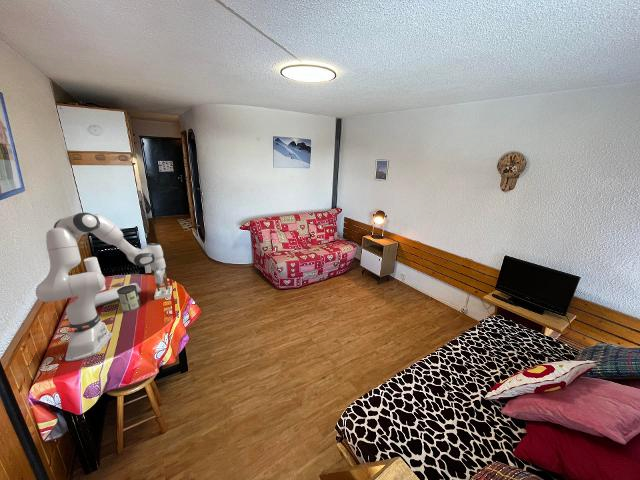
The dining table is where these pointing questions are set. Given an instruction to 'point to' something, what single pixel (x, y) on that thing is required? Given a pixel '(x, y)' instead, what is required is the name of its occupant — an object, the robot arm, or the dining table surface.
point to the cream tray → (160, 296)
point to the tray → (110, 296)
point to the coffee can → (129, 297)
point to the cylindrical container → (93, 266)
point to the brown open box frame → (164, 282)
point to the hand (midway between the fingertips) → (162, 283)
